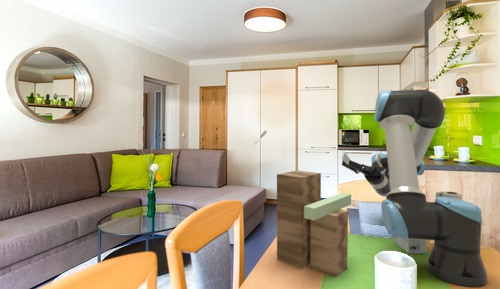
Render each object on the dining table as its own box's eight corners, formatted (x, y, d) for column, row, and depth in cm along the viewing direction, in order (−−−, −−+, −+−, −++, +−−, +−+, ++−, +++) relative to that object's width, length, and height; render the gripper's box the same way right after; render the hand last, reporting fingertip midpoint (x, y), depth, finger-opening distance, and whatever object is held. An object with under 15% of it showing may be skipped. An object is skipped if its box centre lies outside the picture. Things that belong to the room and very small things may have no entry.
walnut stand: (330, 280, 87) (331, 181, 85) (277, 259, 101) (276, 174, 99) (348, 266, 95) (349, 176, 94) (296, 249, 110) (296, 170, 108)
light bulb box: (426, 254, 105) (427, 224, 104) (408, 254, 105) (408, 224, 104) (411, 242, 115) (411, 215, 115) (393, 242, 116) (394, 215, 115)
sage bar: (314, 220, 84) (314, 208, 84) (304, 217, 87) (304, 206, 86) (351, 204, 101) (351, 194, 101) (341, 202, 104) (341, 193, 104)
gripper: (405, 188, 118) (390, 166, 104) (346, 182, 135) (327, 161, 121) (408, 171, 120) (394, 147, 107) (350, 167, 138) (332, 146, 124)
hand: (358, 155), depth 114 cm, fingers open, 13 cm apart
